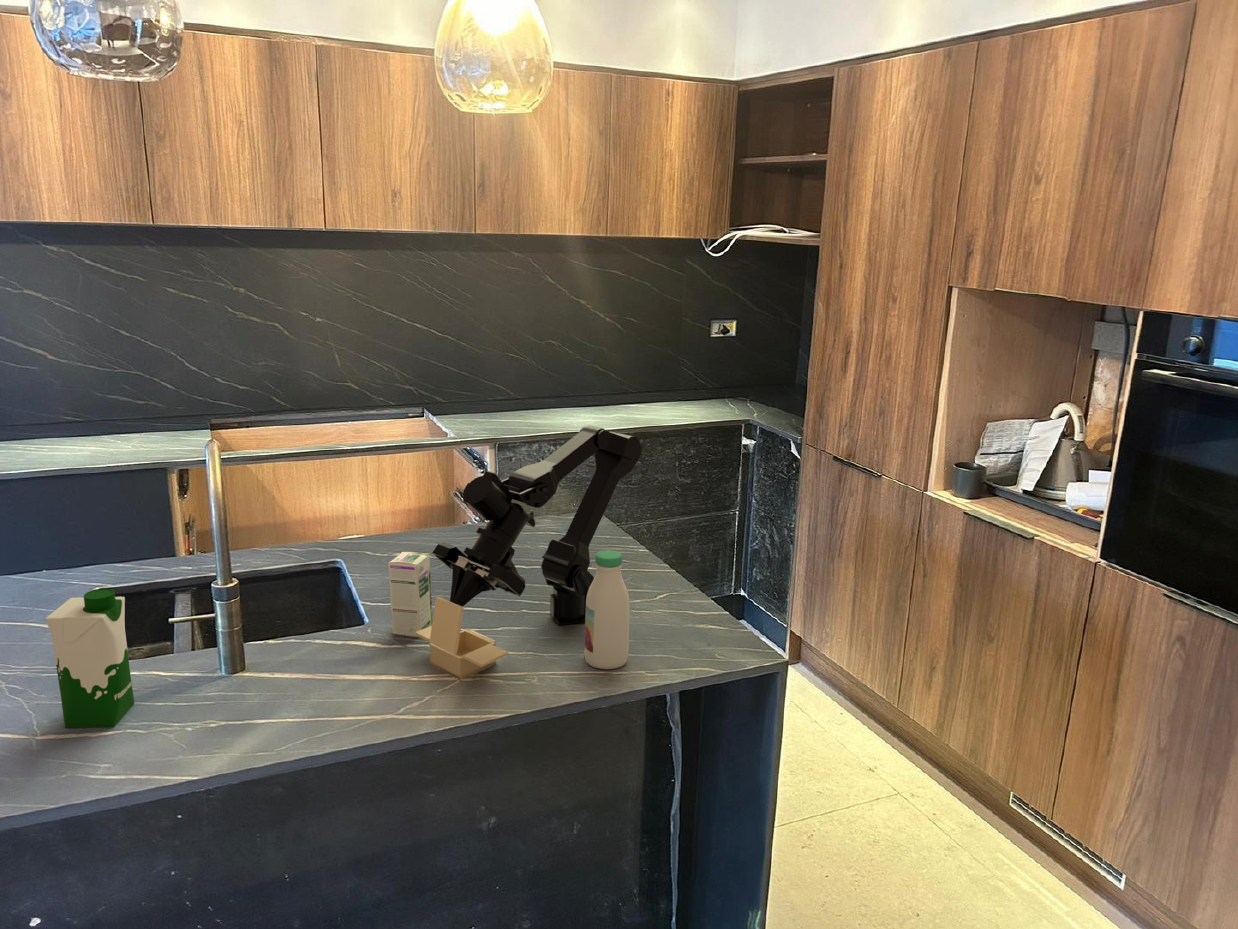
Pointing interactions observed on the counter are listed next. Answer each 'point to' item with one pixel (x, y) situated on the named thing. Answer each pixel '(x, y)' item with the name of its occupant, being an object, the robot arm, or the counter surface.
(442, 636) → the back flap
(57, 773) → the counter surface
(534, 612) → the counter surface
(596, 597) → the milk bottle
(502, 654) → the carton
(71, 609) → the milk carton
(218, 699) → the counter surface
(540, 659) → the counter surface
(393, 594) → the syrup box
